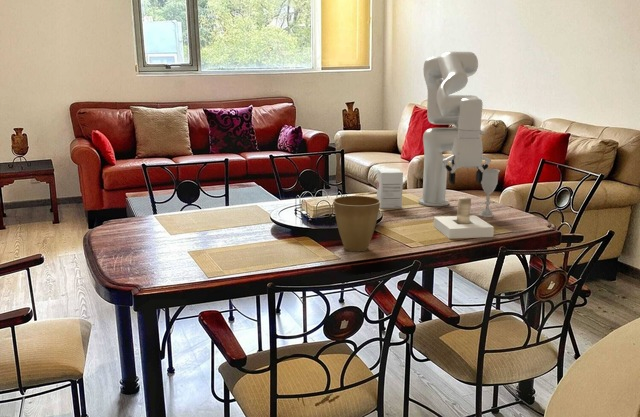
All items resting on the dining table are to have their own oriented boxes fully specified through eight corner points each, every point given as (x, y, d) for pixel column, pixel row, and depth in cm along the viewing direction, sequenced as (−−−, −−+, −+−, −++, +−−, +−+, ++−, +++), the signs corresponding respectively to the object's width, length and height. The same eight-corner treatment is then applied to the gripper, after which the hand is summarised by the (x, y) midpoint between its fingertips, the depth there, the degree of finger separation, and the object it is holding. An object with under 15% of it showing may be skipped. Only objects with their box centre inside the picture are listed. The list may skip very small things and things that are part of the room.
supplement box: (375, 203, 263) (377, 168, 259) (396, 203, 264) (398, 168, 260) (380, 208, 254) (381, 172, 250) (401, 208, 255) (403, 172, 251)
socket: (433, 226, 230) (433, 216, 229) (474, 224, 232) (475, 215, 231) (449, 238, 214) (449, 228, 213) (493, 236, 217) (493, 227, 216)
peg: (454, 229, 225) (456, 197, 222) (465, 229, 226) (468, 196, 223) (458, 233, 221) (461, 200, 218) (470, 232, 222) (473, 199, 219)
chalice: (494, 213, 248) (498, 168, 244) (497, 217, 242) (501, 172, 237) (475, 212, 249) (479, 168, 244) (478, 217, 242) (481, 171, 238)
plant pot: (388, 248, 204) (389, 200, 200) (358, 258, 193) (359, 208, 189) (352, 238, 213) (353, 192, 209) (323, 248, 203) (323, 200, 199)
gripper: (488, 132, 220) (484, 180, 224) (440, 133, 217) (437, 181, 222) (497, 135, 213) (493, 185, 217) (448, 136, 210) (445, 186, 215)
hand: (465, 183), depth 219 cm, fingers open, 9 cm apart
